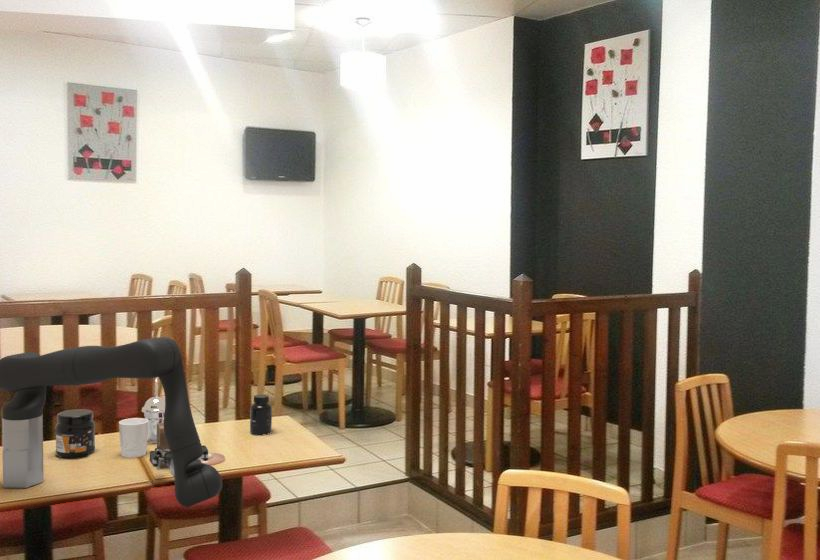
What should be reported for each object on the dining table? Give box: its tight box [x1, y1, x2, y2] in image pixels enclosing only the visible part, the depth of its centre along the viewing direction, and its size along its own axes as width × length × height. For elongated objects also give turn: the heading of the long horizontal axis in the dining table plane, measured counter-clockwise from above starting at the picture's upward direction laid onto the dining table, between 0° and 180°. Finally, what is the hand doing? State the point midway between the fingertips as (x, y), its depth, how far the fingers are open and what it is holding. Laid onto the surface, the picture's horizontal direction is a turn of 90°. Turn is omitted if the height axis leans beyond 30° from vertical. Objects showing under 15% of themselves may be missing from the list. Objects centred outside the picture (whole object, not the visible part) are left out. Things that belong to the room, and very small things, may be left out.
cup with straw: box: [141, 377, 165, 444], centre depth 237 cm, size 8×9×20 cm
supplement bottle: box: [249, 394, 273, 436], centre depth 249 cm, size 7×7×12 cm
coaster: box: [155, 465, 169, 471], centre depth 214 cm, size 8×8×1 cm
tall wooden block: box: [156, 422, 169, 469], centre depth 214 cm, size 6×6×11 cm
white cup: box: [118, 417, 148, 459], centre depth 222 cm, size 8×8×10 cm
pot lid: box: [200, 452, 226, 466], centre depth 218 cm, size 10×10×2 cm
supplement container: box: [54, 408, 96, 459], centre depth 223 cm, size 10×10×12 cm
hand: (174, 448), depth 207 cm, fingers open, 8 cm apart
